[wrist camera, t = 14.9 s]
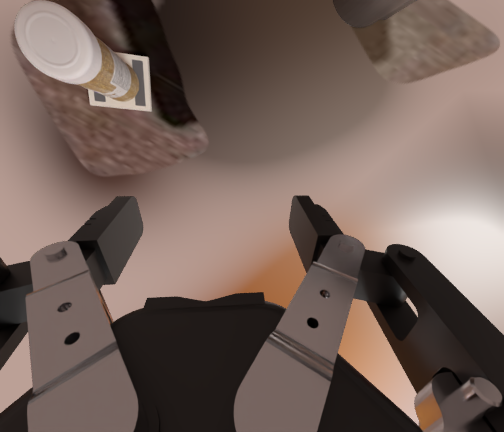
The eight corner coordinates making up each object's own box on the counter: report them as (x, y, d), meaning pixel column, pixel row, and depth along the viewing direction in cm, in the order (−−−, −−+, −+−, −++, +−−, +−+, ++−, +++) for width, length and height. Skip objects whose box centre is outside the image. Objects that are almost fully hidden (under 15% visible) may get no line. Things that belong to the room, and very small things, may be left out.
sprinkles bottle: (98, 95, 27) (11, 65, 15) (100, 53, 26) (8, -17, 14) (138, 107, 29) (89, 88, 16) (142, 67, 27) (92, 14, 15)
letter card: (148, 58, 28) (147, 57, 27) (151, 111, 30) (150, 111, 29) (84, 48, 26) (81, 46, 26) (92, 105, 28) (90, 104, 28)
